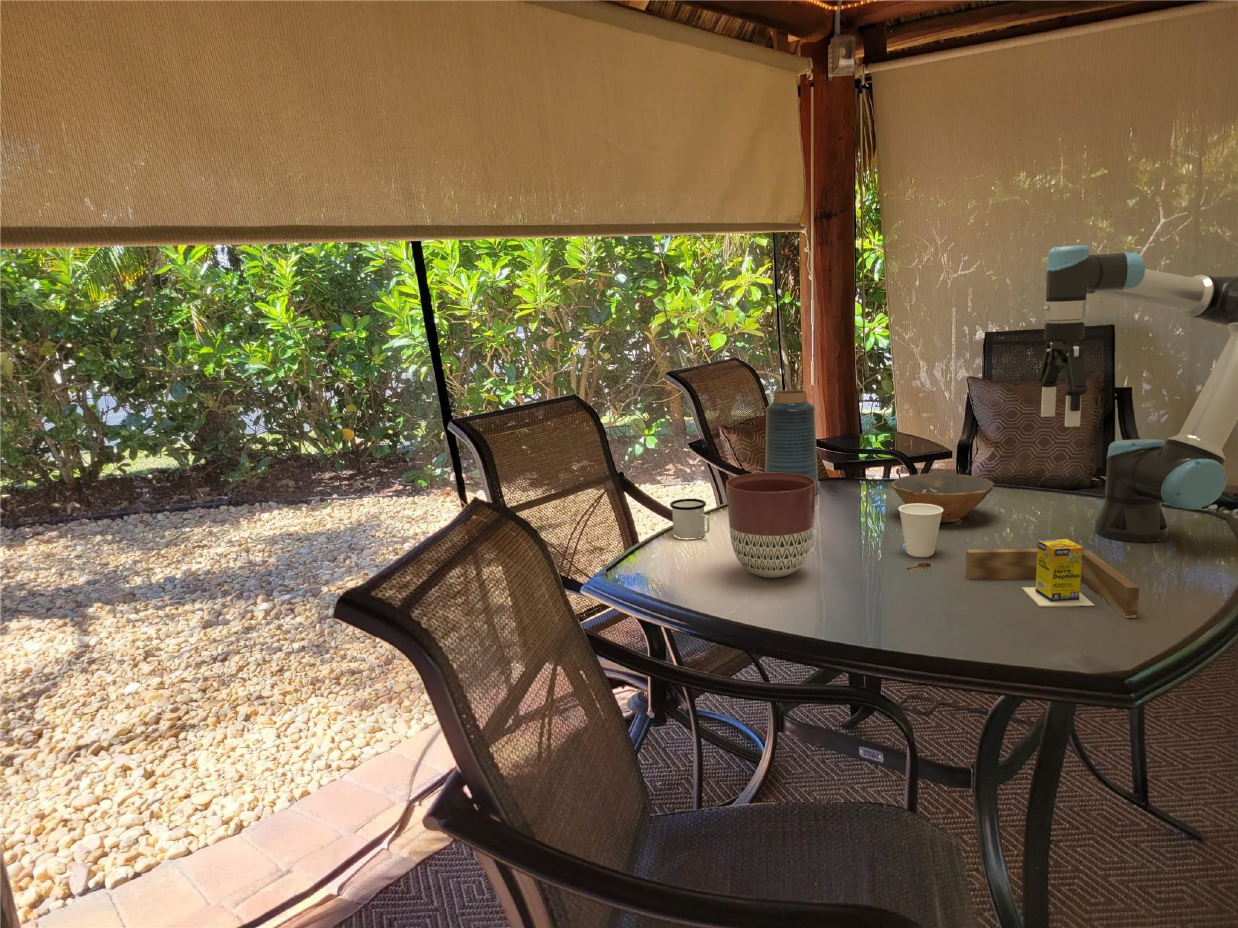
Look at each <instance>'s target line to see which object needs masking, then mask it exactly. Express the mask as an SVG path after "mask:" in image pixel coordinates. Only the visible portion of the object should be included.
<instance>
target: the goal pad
mask: <svg viewBox="0 0 1238 928" xmlns="http://www.w3.org/2000/svg"><path fill="white" fill-rule="evenodd" d="M1035 589H1036V586H1035V587H1033V586H1031V587H1025V586H1024V587H1021V590H1022V591H1024V593H1025V594H1026V595H1028V597H1029V598H1030V599H1031V600H1032V601H1033V602H1034V603H1036V606H1038V607H1040V608H1053V607H1054V608H1058V607H1059V608H1063V607H1065V608H1071V607H1072V608H1075V607H1077V606H1078V607H1079V606H1094V607H1095V604H1094V603H1093V602H1091V600H1090V599H1088V598H1087V597H1086V596H1085V595H1084V594H1083V593H1081V592H1080V595H1079V600H1062V601H1049V600H1048V599H1046V598H1045V597H1043V596H1042V595H1040V594H1039V593H1037V592H1036V591H1035ZM1074 606H1075V607H1074ZM1079 608H1080V607H1079Z"/></svg>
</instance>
